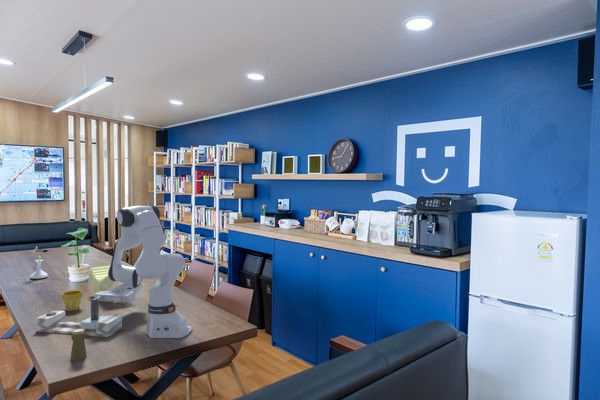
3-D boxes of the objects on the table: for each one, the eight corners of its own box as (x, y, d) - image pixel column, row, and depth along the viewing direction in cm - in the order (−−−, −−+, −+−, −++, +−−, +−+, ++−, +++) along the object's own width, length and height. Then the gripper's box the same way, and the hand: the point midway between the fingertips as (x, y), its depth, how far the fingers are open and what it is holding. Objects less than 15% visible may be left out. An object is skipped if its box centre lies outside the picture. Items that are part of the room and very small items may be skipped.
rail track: (121, 328, 198) (122, 314, 198) (107, 337, 186) (107, 322, 186) (54, 322, 203) (54, 309, 203) (36, 331, 191) (36, 316, 191)
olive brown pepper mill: (73, 362, 159) (73, 336, 159) (68, 357, 163) (68, 332, 163) (88, 357, 164) (88, 332, 164) (83, 353, 168) (83, 328, 168)
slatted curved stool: (89, 294, 256) (89, 267, 256) (114, 290, 267) (114, 264, 266) (103, 305, 234) (103, 276, 234) (130, 300, 245) (130, 272, 244)
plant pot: (57, 310, 223) (57, 293, 222) (74, 305, 232) (74, 289, 232) (70, 312, 219) (70, 295, 218) (86, 307, 228) (86, 291, 228)
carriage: (108, 325, 198) (108, 297, 197) (95, 332, 188) (95, 302, 188) (93, 323, 199) (94, 296, 198) (80, 331, 189) (80, 301, 188)
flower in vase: (35, 276, 299) (35, 244, 298) (51, 276, 300) (51, 244, 299) (25, 280, 286) (25, 247, 285) (41, 280, 287) (41, 247, 287)
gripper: (103, 287, 216) (86, 293, 202) (137, 289, 213) (123, 296, 200) (103, 298, 216) (86, 305, 203) (137, 300, 214) (123, 308, 200)
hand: (105, 300), depth 201 cm, fingers open, 8 cm apart
